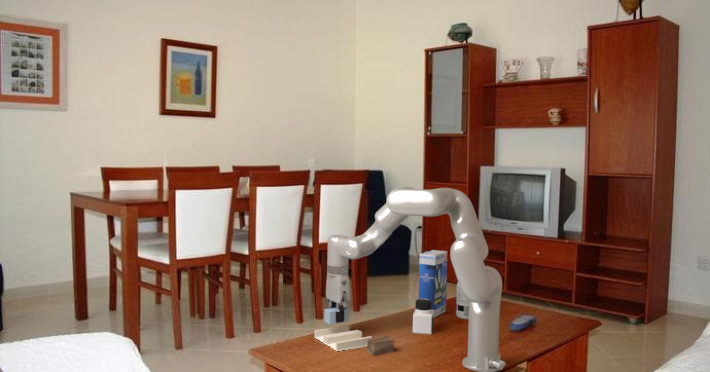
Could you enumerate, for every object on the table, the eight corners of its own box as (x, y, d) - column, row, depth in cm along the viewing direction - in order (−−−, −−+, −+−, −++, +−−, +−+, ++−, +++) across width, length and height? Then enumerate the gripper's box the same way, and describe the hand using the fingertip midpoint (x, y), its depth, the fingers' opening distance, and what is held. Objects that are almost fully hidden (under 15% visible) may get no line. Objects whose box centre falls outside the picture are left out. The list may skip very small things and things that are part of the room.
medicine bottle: (431, 334, 219) (432, 302, 219) (412, 333, 221) (413, 301, 220) (433, 329, 226) (433, 298, 226) (414, 327, 228) (415, 297, 227)
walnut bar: (393, 352, 200) (393, 339, 200) (373, 356, 196) (374, 342, 195) (386, 348, 203) (387, 335, 203) (367, 352, 199) (367, 339, 199)
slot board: (372, 345, 206) (372, 337, 206) (337, 352, 199) (337, 343, 198) (347, 332, 220) (348, 325, 219) (314, 338, 212) (314, 330, 212)
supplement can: (452, 314, 247) (453, 279, 246) (470, 313, 249) (471, 278, 248) (461, 320, 239) (462, 283, 238) (479, 318, 241) (480, 282, 241)
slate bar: (349, 321, 213) (349, 309, 213) (329, 324, 209) (329, 312, 208) (343, 318, 216) (343, 306, 216) (324, 321, 212) (324, 309, 212)
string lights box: (433, 318, 241) (435, 255, 240) (416, 315, 245) (418, 253, 244) (446, 311, 252) (448, 251, 251) (430, 308, 256) (431, 249, 255)
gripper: (359, 273, 206) (357, 325, 207) (335, 264, 220) (334, 313, 222) (340, 275, 202) (339, 328, 203) (317, 266, 216) (316, 315, 218)
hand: (336, 319), depth 212 cm, fingers closed on slate bar, 4 cm apart
